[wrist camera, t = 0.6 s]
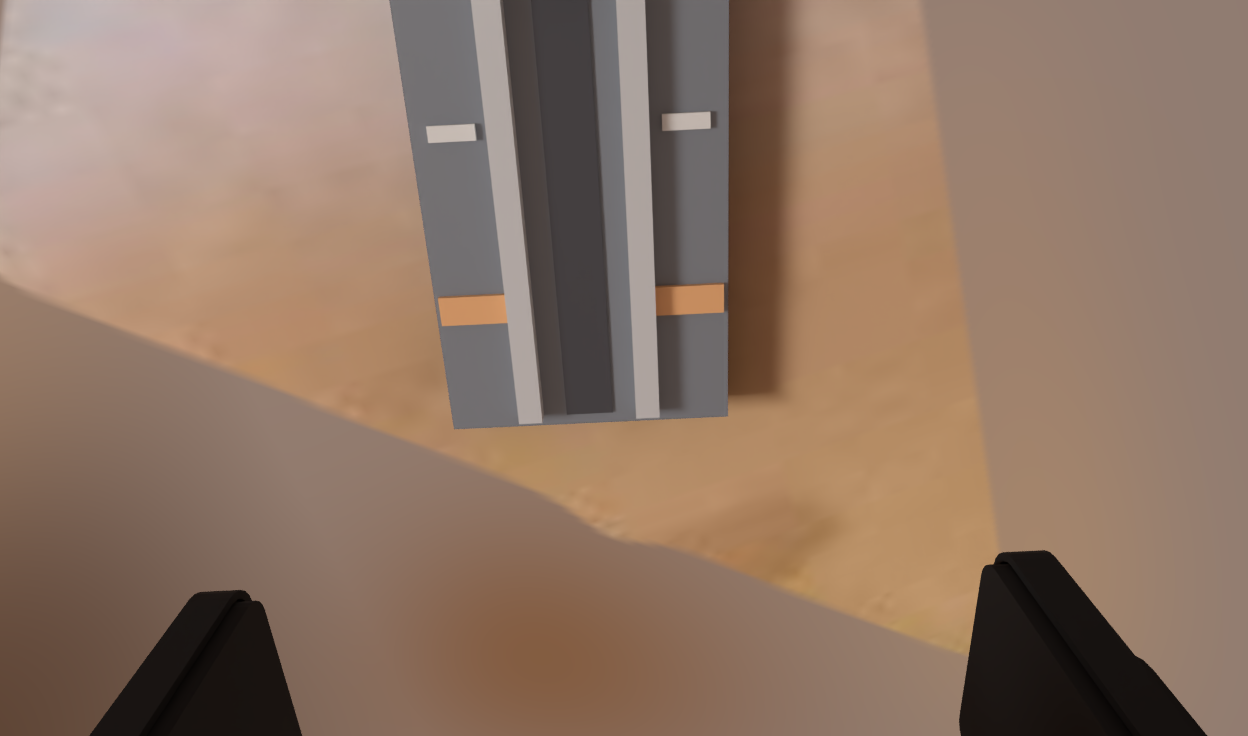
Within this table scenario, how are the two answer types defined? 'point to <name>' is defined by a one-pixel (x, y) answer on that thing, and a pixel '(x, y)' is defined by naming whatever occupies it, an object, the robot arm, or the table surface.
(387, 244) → the table surface
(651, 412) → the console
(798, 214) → the table surface
